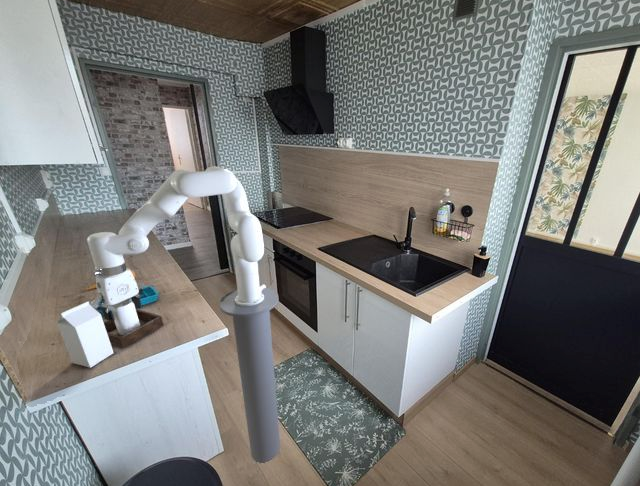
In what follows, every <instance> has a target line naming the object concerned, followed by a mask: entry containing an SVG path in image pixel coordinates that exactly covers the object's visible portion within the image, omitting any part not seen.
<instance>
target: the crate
mask: <svg viewBox="0 0 640 486" xmlns="http://www.w3.org/2000/svg"><path fill="white" fill-rule="evenodd" d="M135 309H136V312H137V316H138V319H139V321H144V322H146V323H144V324H142V325H140V327H138V328H136V329H134V330H133V331H131V332H129V333H127V334H125V335H123V336H121V335H119V334H115V333H111V332H110V331H112V330H114V329H117V327H116V324H115V321H113V322H112V321H109V320H104V321H103V322H104V325H105V328H106V331H107V335H108V338H109V341H110V344H111V345H113V346H116V347H119V348H122V349H124V348H126V347H128V346H130V345H131V344H133V343H135V342H137V341H138V340H140V339H142V338H144V337H145V336H147V335H149V334H151V333H153V332H154V331H156V330H157V329H159V328H161V327H162V326H164V321H163V317H162V315H159V314H155V313H153V312H148V311H146V310H141V309H139V308H135Z"/></svg>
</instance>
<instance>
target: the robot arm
mask: <svg viewBox="0 0 640 486" xmlns="http://www.w3.org/2000/svg"><path fill="white" fill-rule="evenodd" d="M218 195H219V196H220V195H221V196H222V198H223V201H224V205H225V210H226V215H227V222H228V225H229V227H230V229H231V230H232V231H234V232H235V233H236V234H235V235H234V236H233V237H232V238H231V240H230V251H231V255H232V258H233V259H232V260H233V265H234V273H235V282H236V288H237V289H236V290H238V296H236V298H235V302H236V304H238V305H240V306H253V305H256V304H259V303H260V302H262V301H263V300H264V294H263V293H261V291H262V289H264V288H267V286H266V285H265V284H264V283H263V284H262V285H261V284H260V275H259V263H258V261H260V260H261V259H262V258H263V257H264V253H265V244H264V236H263V229H262V225H261V222H260V219H259V218H258V217H257V216H256V215H254V214H253V213H251V211H250V206H249V201H248V197H247V194H246V190H245V188H244V186H243V184H242V183H241V181H240V180H239V179H238V178H237V177H236V175H235V174H234V173H233V172H232V171H231V170H230V169H226V168H223V167H221V166H215V165H213V166H209V167H207V168H206V169H205V170H202V171H189V170H187V169H183V168H182V169H181V168H180V169H176V170H174V171H173V172H172V173H171V174H170V175H169V176H168V177H167V178H166V179H165V181H164V182H162V184H161V185H160V186H159V187H158V189H156V191H155V192H154V193H153V194H152V196H151V197H150V198H149V199H148V200H147V201H146V202H145V203H144V204H143V205H141V206H140V207H139V208H138V209H137V210H136V211H134V212H133V214H132V215H131V216H130V217H129V219H128V220H126V221H125V223H124V224H123V225H122V227H121V228H120V229H119V231H118V234H116V233H115V232H112V231H111V232H110V231H101V232H96V233H92V234H89V235H88V237H87V238H86V241H87V242H86V243H87V246H88V249H89V252H90V254H91V258H92V262H93V263H94V271H92V272H91V274H92V275H93V276H95V285H96V286H97V288H96V292H97V296H96V297H95V298H94V299H93V300H92V301H91V302H89V304H90V305H91V306H92V307H93V308H94V309H95V310H96V311H98V310H100V311H103V314H104V316H103V317H104V319H105V321H107V320H109V321H112V322H113V321H115V318H114V315H113V312H112V311H111V310H110V309H111V306H112V305H115V304H117V303H120V302H122V301H124V300H126V299H129V298H131V299H132V302H133V303H134V305H135V309H141V308H142V305H141V301H140V297H141V294H142V292H143V288H144V287H145V283H143V282H137V280H136V279H135V278H136V277H135V278H134V276H133V274H132V273H131V271H130V270H131V269H130V268H127V266H126V261H125V258H124V255H137V254H142V253H144V252H146V251H147V250H148V248H149V246H150V241H149V238H148V237H147V236H148V235H149V233H150V232H151V231H152V230H153V229H154V228H155V227H156V226H157V225H158V224H159V223H160V222H162V221H164V220H166V219H169V218H171V217H173V216H175V215H176V213H177V212H178V211H179V210H180V209H181V208H182V206H183V205H184V204H185V203H186V202H187V200H188V199H189V198H203V197H210V196H218ZM100 301H101V302H102V306H99V305H98V304H99V302H100ZM103 314H102V315H103Z"/></svg>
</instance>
